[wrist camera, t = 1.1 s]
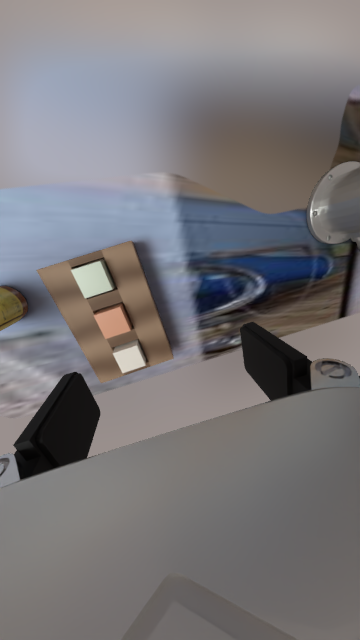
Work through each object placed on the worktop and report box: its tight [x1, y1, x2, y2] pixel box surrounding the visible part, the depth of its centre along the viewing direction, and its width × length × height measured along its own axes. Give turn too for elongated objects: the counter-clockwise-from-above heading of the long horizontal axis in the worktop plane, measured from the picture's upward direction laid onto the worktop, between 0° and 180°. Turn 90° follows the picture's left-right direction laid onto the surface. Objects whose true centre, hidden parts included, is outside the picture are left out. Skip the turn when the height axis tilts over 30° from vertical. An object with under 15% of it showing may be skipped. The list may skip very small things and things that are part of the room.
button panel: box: [37, 241, 173, 383], centre depth 32 cm, size 21×14×4 cm, turn 16°
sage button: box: [71, 260, 116, 298], centre depth 28 cm, size 4×4×3 cm
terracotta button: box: [94, 302, 132, 339], centre depth 30 cm, size 4×4×3 cm
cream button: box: [113, 339, 146, 373], centre depth 33 cm, size 4×4×3 cm
